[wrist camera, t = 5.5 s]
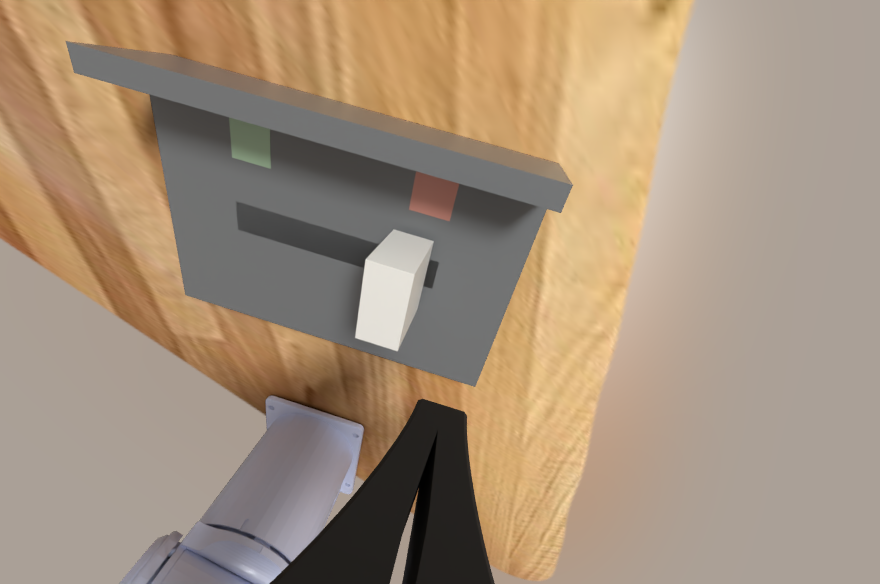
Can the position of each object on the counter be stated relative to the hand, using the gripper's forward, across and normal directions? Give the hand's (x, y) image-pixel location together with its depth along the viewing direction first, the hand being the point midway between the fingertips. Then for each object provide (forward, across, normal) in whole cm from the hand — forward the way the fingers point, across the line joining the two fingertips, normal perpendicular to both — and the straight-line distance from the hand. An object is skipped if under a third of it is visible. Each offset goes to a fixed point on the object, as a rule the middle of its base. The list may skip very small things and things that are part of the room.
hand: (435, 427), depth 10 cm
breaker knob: (+9, +3, 0) cm, 9 cm away
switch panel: (+10, +7, 0) cm, 13 cm away
